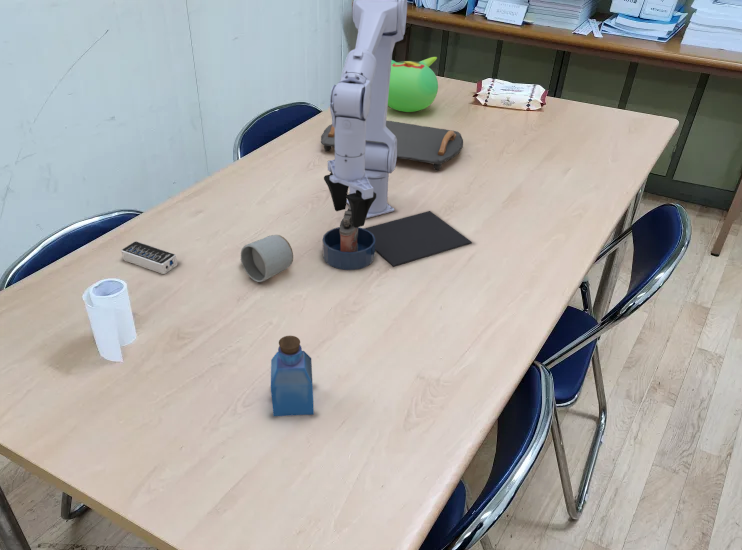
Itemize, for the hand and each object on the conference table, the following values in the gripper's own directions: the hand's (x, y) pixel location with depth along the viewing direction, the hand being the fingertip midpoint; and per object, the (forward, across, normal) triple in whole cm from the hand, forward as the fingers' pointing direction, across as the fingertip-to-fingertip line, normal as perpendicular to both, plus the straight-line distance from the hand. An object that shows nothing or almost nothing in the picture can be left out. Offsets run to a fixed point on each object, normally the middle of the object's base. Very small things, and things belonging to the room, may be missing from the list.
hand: (349, 217), depth 128 cm
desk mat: (+9, 0, +16) cm, 18 cm away
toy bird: (+9, -67, +58) cm, 89 cm away
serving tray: (+9, -44, +38) cm, 59 cm away
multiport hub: (+9, -17, -37) cm, 42 cm away
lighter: (+9, 0, 0) cm, 9 cm away
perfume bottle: (+9, +34, -29) cm, 46 cm away
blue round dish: (+9, 0, 0) cm, 9 cm away
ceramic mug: (+9, -3, -18) cm, 20 cm away
